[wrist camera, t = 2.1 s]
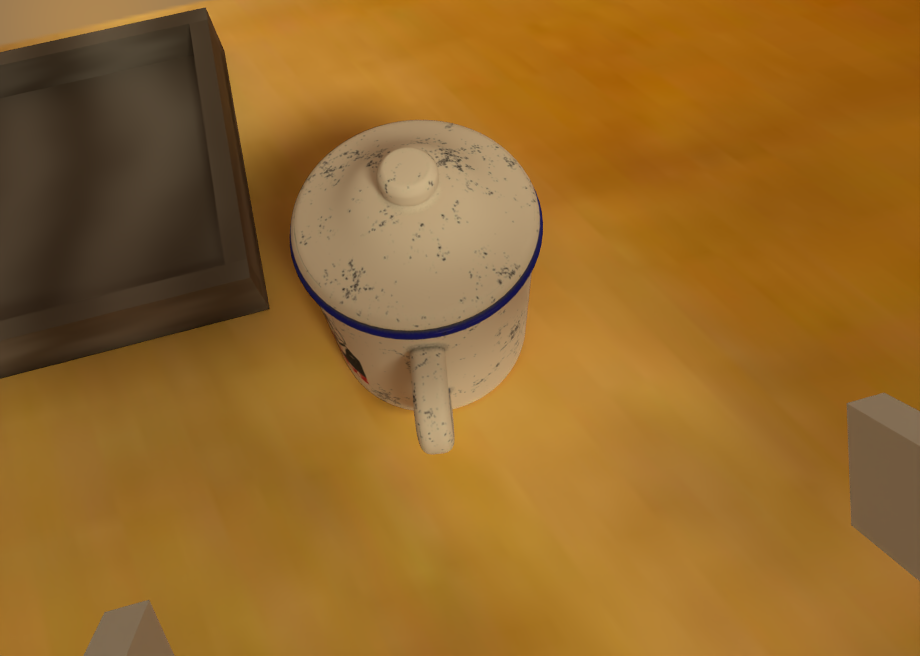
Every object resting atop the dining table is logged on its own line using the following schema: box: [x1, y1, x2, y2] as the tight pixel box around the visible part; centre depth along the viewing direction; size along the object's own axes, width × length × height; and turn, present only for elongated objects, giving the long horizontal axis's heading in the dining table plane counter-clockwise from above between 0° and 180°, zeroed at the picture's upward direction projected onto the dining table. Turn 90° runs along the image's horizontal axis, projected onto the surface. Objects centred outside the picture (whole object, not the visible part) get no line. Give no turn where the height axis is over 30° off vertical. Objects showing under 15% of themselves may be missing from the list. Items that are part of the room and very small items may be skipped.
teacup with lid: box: [290, 120, 543, 454], centre depth 27 cm, size 12×9×12 cm
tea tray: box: [0, 8, 269, 378], centre depth 35 cm, size 18×18×3 cm
